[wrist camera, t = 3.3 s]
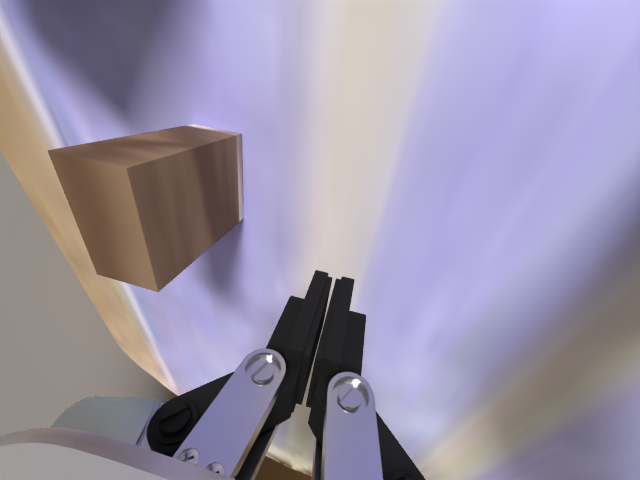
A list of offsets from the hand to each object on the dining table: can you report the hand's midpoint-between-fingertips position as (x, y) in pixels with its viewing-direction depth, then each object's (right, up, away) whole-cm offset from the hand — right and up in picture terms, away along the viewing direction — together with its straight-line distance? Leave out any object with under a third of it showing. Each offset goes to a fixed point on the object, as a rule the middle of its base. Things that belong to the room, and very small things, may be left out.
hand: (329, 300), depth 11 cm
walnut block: (-9, +8, +10) cm, 15 cm away
